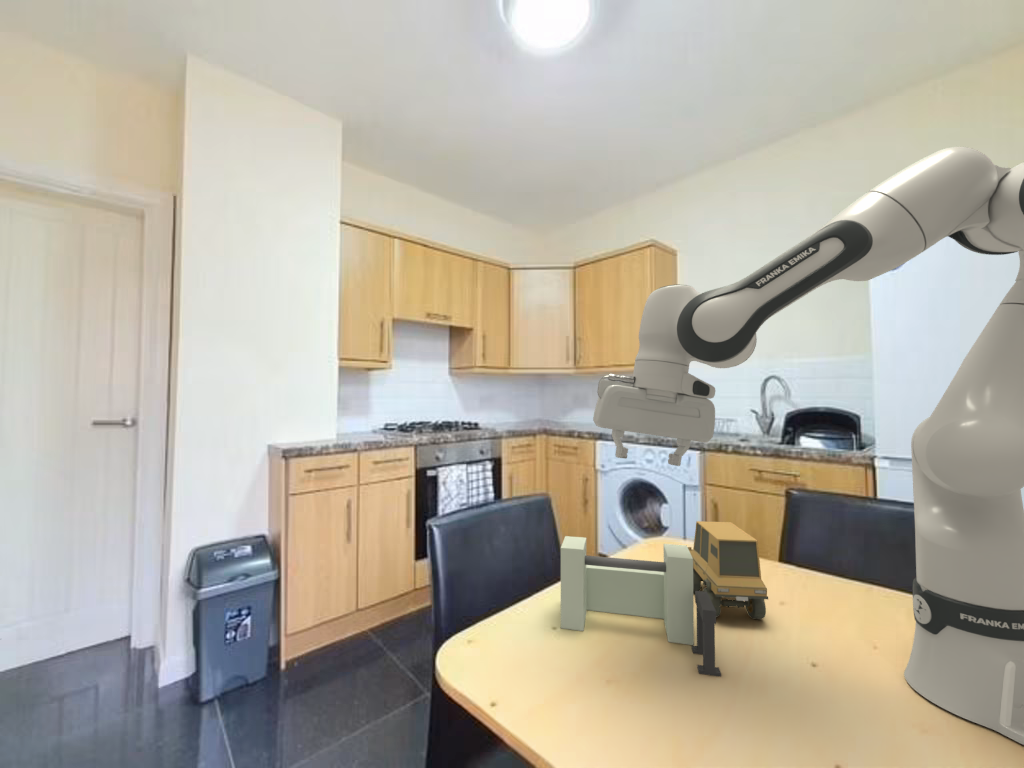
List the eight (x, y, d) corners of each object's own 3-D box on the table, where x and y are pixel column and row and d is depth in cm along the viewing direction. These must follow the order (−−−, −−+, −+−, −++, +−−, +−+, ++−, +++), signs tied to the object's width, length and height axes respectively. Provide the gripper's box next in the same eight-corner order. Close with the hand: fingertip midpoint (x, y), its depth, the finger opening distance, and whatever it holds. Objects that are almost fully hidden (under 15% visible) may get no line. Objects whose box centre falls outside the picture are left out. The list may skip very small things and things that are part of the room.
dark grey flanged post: (711, 651, 71) (710, 592, 71) (721, 676, 64) (720, 611, 65) (691, 648, 72) (691, 590, 72) (699, 673, 65) (698, 609, 65)
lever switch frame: (685, 616, 82) (684, 540, 83) (693, 645, 73) (692, 558, 73) (567, 602, 87) (567, 531, 88) (560, 628, 78) (560, 547, 78)
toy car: (730, 585, 97) (729, 516, 97) (773, 630, 78) (771, 544, 78) (681, 583, 98) (681, 514, 98) (712, 626, 79) (711, 541, 79)
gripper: (606, 371, 71) (593, 456, 71) (725, 389, 73) (713, 472, 73) (594, 372, 77) (583, 450, 77) (704, 389, 79) (694, 465, 79)
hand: (647, 461), depth 75 cm, fingers open, 8 cm apart
